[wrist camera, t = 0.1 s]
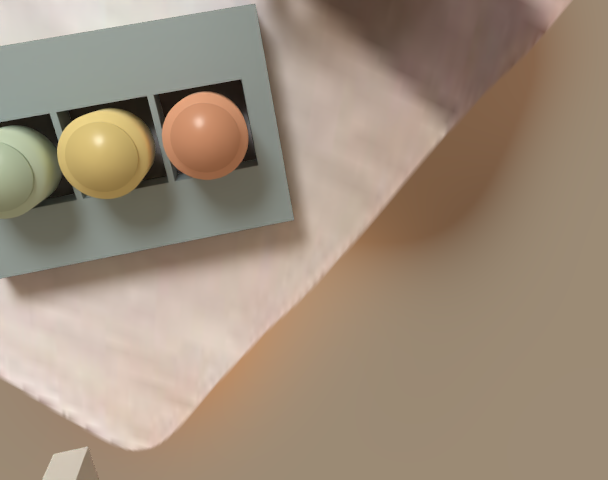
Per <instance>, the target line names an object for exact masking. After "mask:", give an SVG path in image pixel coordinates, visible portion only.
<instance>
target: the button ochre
mask: <svg viewBox="0 0 608 480" xmlns="http://www.w3.org/2000/svg"><path fill="white" fill-rule="evenodd" d="M57 157H58V162H59V166H60V169H61V171H62V173H63V175H64V176H65V178H66V179H67V180H68V182H69V183H70V184H71V185H72V186H73V187H75V188H76V189H77V190H79V191H80V192H82V193H84V194H86V195H88V196H91V197H94V198H99V199H113V198H118V197H121V196H124V195H126V194H128V193H129V192H131V191H132V190H134V189H135V188H136V187H137V186H138V185H139V183H140V182H141V181H142V179H143V178H144V177H145V175H146V174H147V173H148V171H149V170H150V168H151V166H152V164H153V162H154V158H155V142H154V138H153V135H152V133H151V131H150V129H149V128H148V126H147V125H146V124H145V123H144V122H143V121H142V120H141V119H140V118H139V117H138V116H136V115H135V114H133V113H131V112H129V111H127V110H123V109H119V108H104V109H100V110H97V111H94V112H91V113H88V114H85V115H83V116H80V117H78V118H76V119H75V120H73V121H72V122H71V123H70V124H69V125H68V126H67V127H66V128H65V129H64V131H63V132H62V134H61V136H60V139H59V142H58V147H57Z"/></svg>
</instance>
